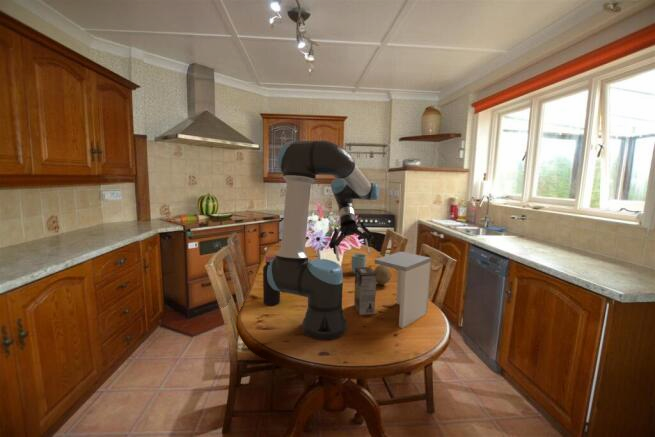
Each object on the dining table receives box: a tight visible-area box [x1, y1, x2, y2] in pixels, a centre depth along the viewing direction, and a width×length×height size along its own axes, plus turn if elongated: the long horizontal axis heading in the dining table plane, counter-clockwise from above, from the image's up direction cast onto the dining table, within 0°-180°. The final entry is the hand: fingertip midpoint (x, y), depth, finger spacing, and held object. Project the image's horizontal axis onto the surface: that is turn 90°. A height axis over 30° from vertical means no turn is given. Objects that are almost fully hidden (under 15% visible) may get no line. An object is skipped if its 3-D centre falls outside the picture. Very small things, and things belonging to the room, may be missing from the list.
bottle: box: [262, 253, 281, 307], centre depth 123 cm, size 7×7×20 cm
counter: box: [374, 251, 432, 329], centre depth 115 cm, size 18×13×22 cm
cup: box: [351, 253, 367, 275], centre depth 163 cm, size 8×8×10 cm
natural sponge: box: [373, 264, 393, 286], centre depth 146 cm, size 9×9×10 cm
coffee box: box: [353, 266, 377, 316], centre depth 119 cm, size 9×6×16 cm
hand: (353, 256), depth 131 cm, fingers open, 13 cm apart
